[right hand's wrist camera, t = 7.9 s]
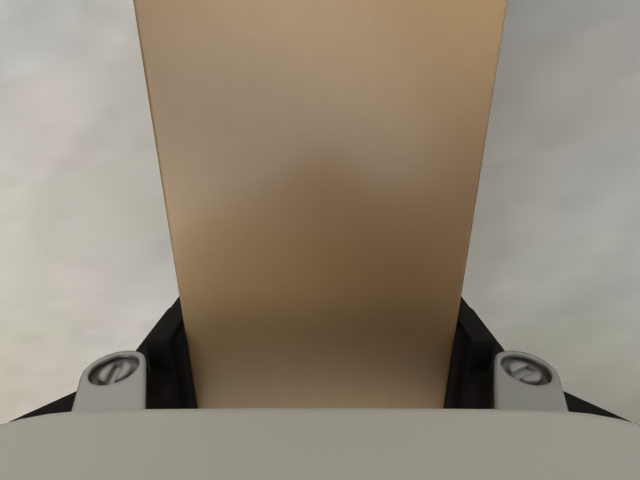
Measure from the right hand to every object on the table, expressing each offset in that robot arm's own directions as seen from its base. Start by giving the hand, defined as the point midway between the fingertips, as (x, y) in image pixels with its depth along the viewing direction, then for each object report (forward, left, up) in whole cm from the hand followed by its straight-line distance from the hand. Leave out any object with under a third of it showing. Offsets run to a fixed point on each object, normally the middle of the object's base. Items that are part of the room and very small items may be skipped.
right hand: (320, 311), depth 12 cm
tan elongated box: (+5, -4, -8) cm, 10 cm away
